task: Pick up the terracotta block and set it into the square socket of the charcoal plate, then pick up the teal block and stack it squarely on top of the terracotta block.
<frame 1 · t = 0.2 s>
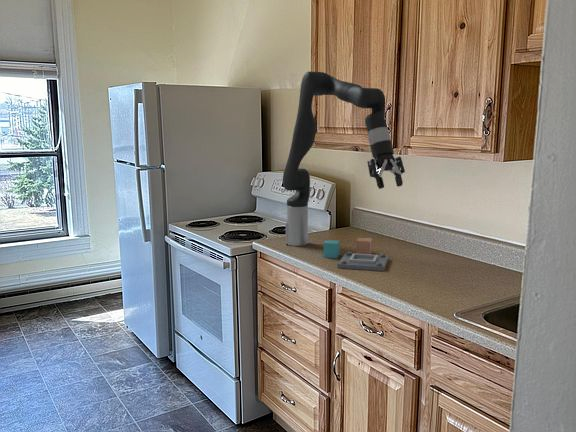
hand: (390, 187, 184), 31 cm above the worktop, tool tilted 20°, fingers open, 8 cm apart
teal block: (331, 256, 213), on the worktop
plate: (363, 263, 202), on the worktop
terracotta block: (363, 253, 216), on the worktop
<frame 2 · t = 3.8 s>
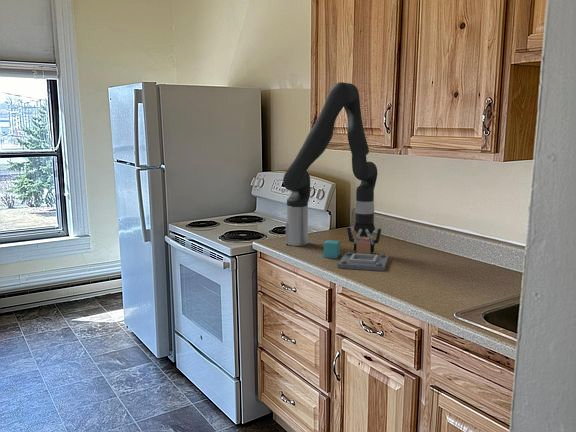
hand: (363, 252, 216), 1 cm above the worktop, tool pointing down, fingers closed on terracotta block, 5 cm apart
terracotta block: (364, 253, 216), on the worktop, touching gripper
everything else where it was.
when the fingers open (3 cm above the worktop, at t = 9.2 s): terracotta block drops 1 cm, resting on plate.
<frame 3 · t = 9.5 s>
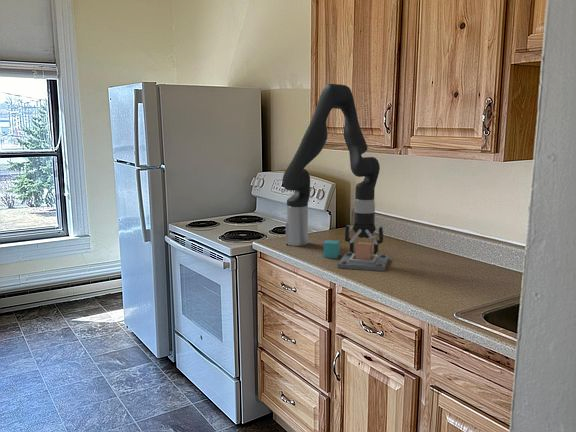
hand: (363, 253, 201), 4 cm above the worktop, tool pointing down, fingers open, 8 cm apart
terracotta block: (363, 259, 201), point 1 cm above the worktop, touching plate
everything else where it was.
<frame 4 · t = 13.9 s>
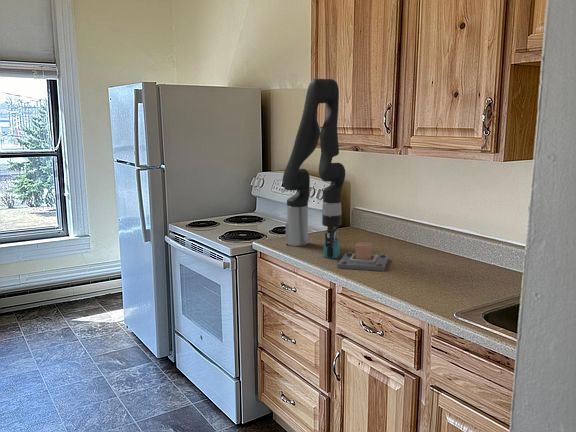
hand: (331, 254, 213), 1 cm above the worktop, tool pointing down, fingers closed on teal block, 5 cm apart
teal block: (331, 256, 213), on the worktop, touching gripper
everything else where it was.
when the fingers open (9 cm above the worktop, at t = 19.1 s): teal block drops 1 cm, resting on terracotta block.
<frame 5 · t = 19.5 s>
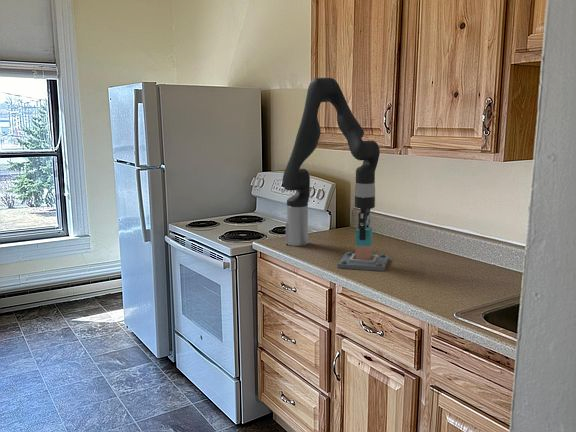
hand: (364, 237, 200), 10 cm above the worktop, tool pointing down, fingers open, 8 cm apart
teal block: (363, 244, 200), point 7 cm above the worktop, touching terracotta block
terracotta block: (363, 259, 201), point 1 cm above the worktop, touching plate, teal block
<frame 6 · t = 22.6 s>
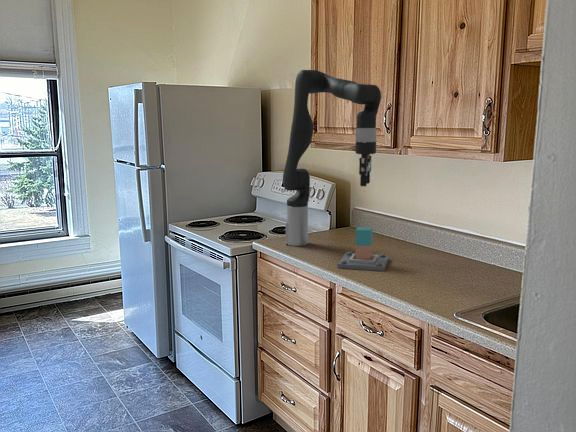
hand: (365, 184, 196), 30 cm above the worktop, tool pointing down, fingers open, 8 cm apart
nothing on the worktop moved.
at the end: terracotta block 0.0 cm off-centre on the plate, point 1.5 cm above the plate's base; teal block 0.0 cm off-centre on the terracotta block, point 6.0 cm above the terracotta block's base; teal block tilted 0° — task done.
